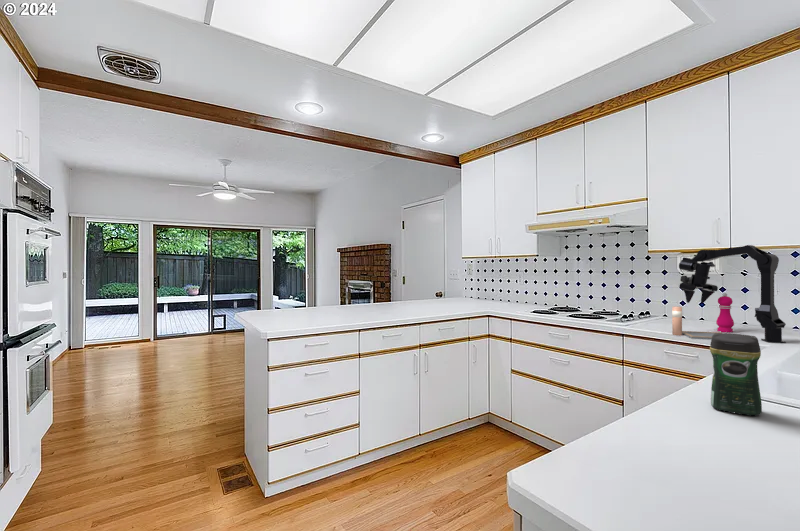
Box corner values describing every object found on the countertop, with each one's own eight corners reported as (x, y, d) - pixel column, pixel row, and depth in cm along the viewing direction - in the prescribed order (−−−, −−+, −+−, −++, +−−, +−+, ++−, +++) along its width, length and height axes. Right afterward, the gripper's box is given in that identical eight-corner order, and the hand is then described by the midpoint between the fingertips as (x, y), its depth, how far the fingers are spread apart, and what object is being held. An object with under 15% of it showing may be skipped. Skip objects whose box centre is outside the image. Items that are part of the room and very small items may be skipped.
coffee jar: (761, 410, 98) (760, 333, 98) (762, 419, 92) (762, 338, 92) (710, 401, 104) (710, 329, 104) (709, 410, 98) (708, 333, 98)
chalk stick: (683, 335, 198) (683, 307, 198) (673, 335, 199) (673, 307, 199) (680, 334, 202) (680, 306, 202) (671, 334, 203) (670, 306, 203)
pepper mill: (727, 330, 213) (727, 292, 213) (737, 332, 205) (737, 293, 205) (713, 330, 213) (712, 292, 213) (722, 332, 206) (722, 293, 206)
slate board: (737, 340, 185) (737, 338, 185) (691, 338, 190) (691, 336, 190) (721, 334, 200) (721, 332, 200) (679, 333, 206) (679, 330, 206)
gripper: (701, 271, 218) (695, 298, 221) (673, 269, 214) (667, 298, 217) (721, 275, 207) (714, 304, 210) (692, 274, 203) (685, 304, 206)
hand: (694, 302), depth 211 cm, fingers open, 9 cm apart
